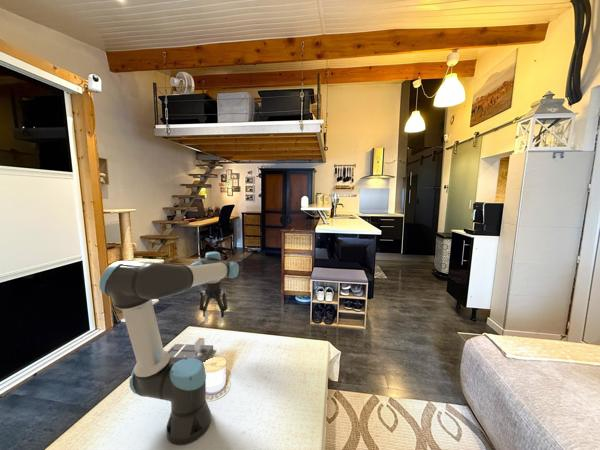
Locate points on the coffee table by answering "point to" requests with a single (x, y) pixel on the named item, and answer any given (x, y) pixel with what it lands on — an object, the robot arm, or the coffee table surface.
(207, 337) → the coffee table surface
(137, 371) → the robot arm
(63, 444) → the coffee table surface
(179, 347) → the console
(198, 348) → the fader
